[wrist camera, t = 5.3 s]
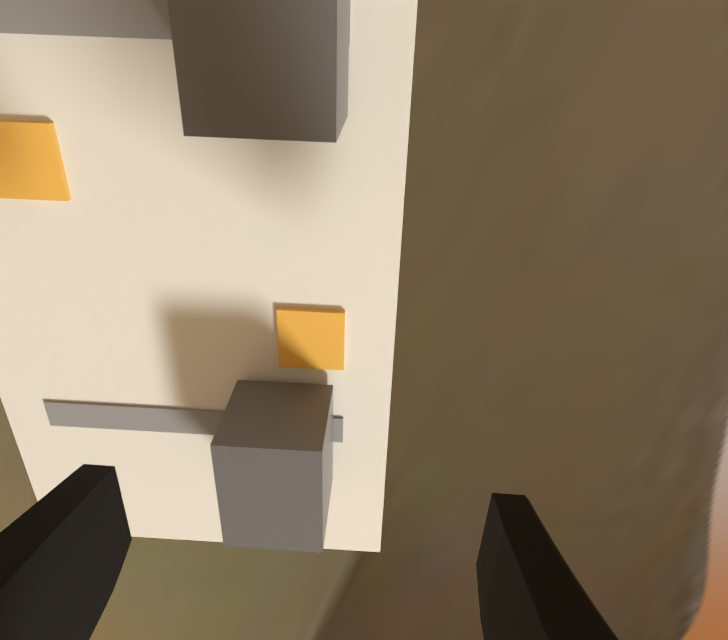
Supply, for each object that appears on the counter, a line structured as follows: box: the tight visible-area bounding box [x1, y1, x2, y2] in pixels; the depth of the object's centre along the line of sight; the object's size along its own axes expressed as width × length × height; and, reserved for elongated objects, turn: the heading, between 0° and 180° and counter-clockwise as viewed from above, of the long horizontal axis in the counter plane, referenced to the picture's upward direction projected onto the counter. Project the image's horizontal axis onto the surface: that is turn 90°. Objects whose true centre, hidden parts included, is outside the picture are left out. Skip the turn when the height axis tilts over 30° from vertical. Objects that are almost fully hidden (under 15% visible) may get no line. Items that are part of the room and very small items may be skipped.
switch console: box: [0, 0, 418, 552], centre depth 16 cm, size 13×24×2 cm, turn 178°
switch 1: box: [167, 0, 350, 143], centre depth 11 cm, size 3×4×3 cm
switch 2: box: [210, 380, 333, 553], centre depth 17 cm, size 3×4×3 cm
